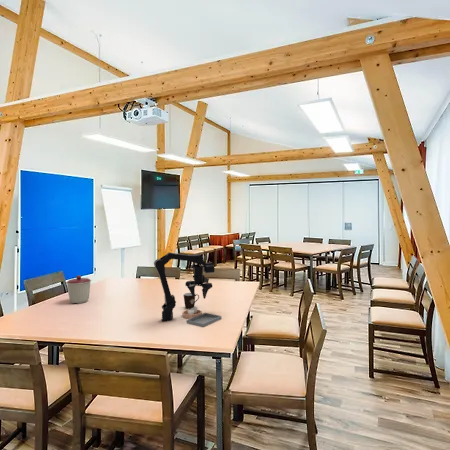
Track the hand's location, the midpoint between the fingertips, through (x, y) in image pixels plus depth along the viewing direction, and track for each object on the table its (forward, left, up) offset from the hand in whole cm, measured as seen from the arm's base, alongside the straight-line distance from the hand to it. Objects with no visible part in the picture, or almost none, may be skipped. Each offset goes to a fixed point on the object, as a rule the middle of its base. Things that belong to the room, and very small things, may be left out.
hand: (199, 297), depth 210 cm
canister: (-22, +105, -13) cm, 108 cm away
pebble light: (-5, +3, -12) cm, 13 cm away
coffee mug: (+13, +18, -13) cm, 26 cm away
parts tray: (-7, -10, -12) cm, 17 cm away
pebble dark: (0, +4, -12) cm, 12 cm away
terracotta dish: (-3, +4, -12) cm, 13 cm away
